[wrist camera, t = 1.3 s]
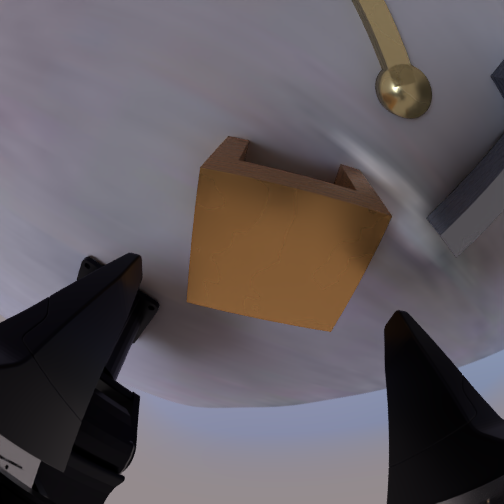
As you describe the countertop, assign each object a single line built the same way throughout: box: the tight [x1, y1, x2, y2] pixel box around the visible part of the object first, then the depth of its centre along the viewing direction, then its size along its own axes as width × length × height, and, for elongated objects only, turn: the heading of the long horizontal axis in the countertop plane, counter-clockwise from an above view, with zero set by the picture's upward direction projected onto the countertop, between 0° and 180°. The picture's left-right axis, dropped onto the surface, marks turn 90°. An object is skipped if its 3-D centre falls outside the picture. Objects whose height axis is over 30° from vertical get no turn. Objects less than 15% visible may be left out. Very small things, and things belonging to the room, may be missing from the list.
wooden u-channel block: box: [187, 136, 392, 332], centre depth 12 cm, size 6×6×5 cm
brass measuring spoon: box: [352, 0, 432, 119], centre depth 9 cm, size 7×3×1 cm, turn 24°
